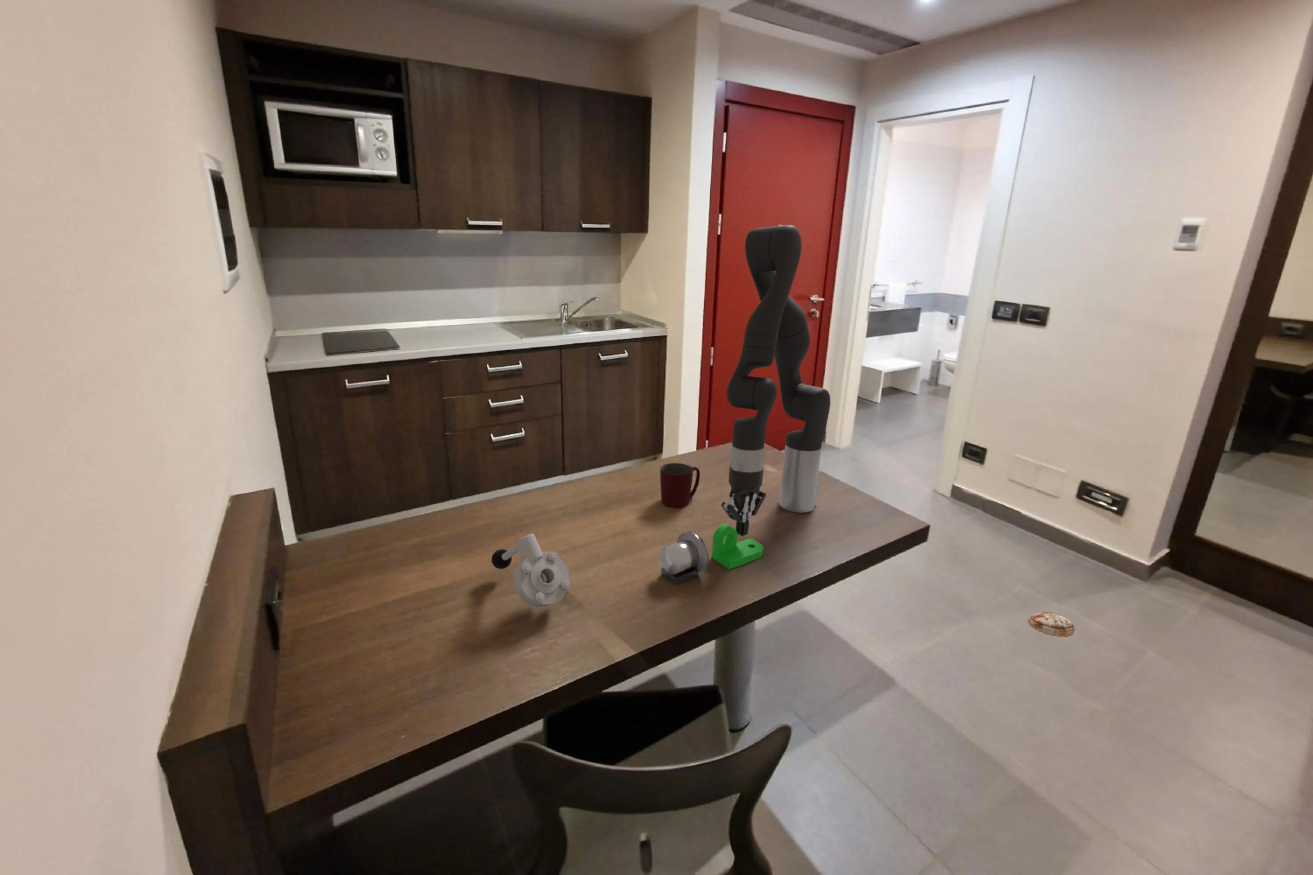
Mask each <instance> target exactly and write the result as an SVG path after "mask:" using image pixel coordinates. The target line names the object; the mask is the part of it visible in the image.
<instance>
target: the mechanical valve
mask: <svg viewBox="0 0 1313 875" xmlns="http://www.w3.org/2000/svg"><path fill="white" fill-rule="evenodd" d="M516 554H518V555H519V558H520V559H521V561H520V562H519V563H518V565H517V566H516V568H515V570H514V572H513V585H514V590H515V592H516V594H517V596H519V599H521V601H523V602H524V603H526V604H527V606H528V607H535V608H544V607H547V606H550V605H553V604H554V603H557V602H558V601H560V600H561V599H562V598H563V597H564V596H565V595H566V593H567V591H568V589H569V587H570V586H571V583H570V572H569V568H568V566H567V565H566V563H565V561H564V560H563V559H562V558H561V557H560V556H559V555H558V554H557V553H556V552H555V551H548V550H542V548H541V547H540V544H539V542H538V539H537V538H536V536H535V533H529V534H527V535H525V536H523V537H520V538H518V539H517V540H515V541H514V545H513V547H511V548H510V549H508V550H507V549H503V548H500V549H498V550H496V551H494V552H493V554H492V555H491V563H492V566H494V568H496V569H498V570H503V569H507V568H508V567H509V566H510V565H511V563H512V559H513V558H512V557H513V556H514V555H516Z"/></svg>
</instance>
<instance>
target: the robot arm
mask: <svg viewBox="0 0 1313 875" xmlns="http://www.w3.org/2000/svg"><path fill="white" fill-rule="evenodd" d="M802 243H803V242H802V237H801V234H800V231H799V229H798V228H797V227H796V226H794V225H792V224H785V225H775V226H766V227H765V226H764V227H757V228H754V229H752V230H750V231H749V232H748V233H747V235H746V238H745V242H744V252H745V258H746V263H747V267H748V269H749V272H750V275H751V278H752V280H753V283H754V286H755V289H756V291H757V295H758V297H759V301H760V302H759V304H758V305H757V307H756V308H755V309H754V311H753V312H752V314H751V315H750V316H749V319H748V321H747V323H746V327H745V329H744V331H745V332H744V335H743V336H744V337H743V342H742V348H741V353H740V356H739V360H738V363H737V364H736V367H735V370H734V372H733V374H732V375H731V378H730V379H729V381H728V384H727V387H726V392H725V393H726V401H727V402H728V404H729V405H730V406H732V407H734V408H739V409H746V410H752V411H756V414H755V416H749V417H748V416H746V417H739V418H738V419H735V421H734V423H733V425H732V441H731V448H730V450H731V451H730V455H729V468H728V471H729V472H728V483H729V486H730V492H729V493H728V495H729V498H728V500H726V502H725V501H723V502H722V503H721V508H722V509H723V510H724V512H725V513H726V515H727V516H728V517H729V518H730V519H732V520H733V521H736V522H735V523H736V524H735V529H736V531H737V535H738V536H741V537H744V536H746V535H748V533H749V528H750V520H751V519H752V517H755V516H756V515H757V513H758V511H759V510H760V507H761V506H762V504H763V502H764V500H765V498H766V496H767V493H766V492H763V491H761V487H762V485H763V479H764V465H765V441H766V440H765V439H766V431H767V430H766V428H767V424H768V420H769V418H770V415H771V412H772V409H773V407H774V405H775V402H776V399H777V396H778V387H777V385H776V383H775V381H774V380H773V379H771V378H768V377H761V376H760V377H759V376H751V375H750V374H751V373H752V372H753V371H754V370H756V369H760V368H767V367H771V366H772V364H773V363H774V360H775V365H776V366H775V367H776V370H777V374H778V381H779V389H780V397H781V403H782V404H781V405H782V409H783V410H784V412H785V415H786V416H788V417H789V418H792V419H795V420H799V421H803V422H805V423H804V427H803V429H799V430H793V431H790V432H788V433H787V434H786V437H785V443H784V444H785V447H784V454H783V455H784V456H783V465H782V475H781V483H780V494H779V502H778V503H779V506H780V507H781V508H782V509H784V510H786V511H789V512H794V513H809V512H812V511H813V510H814V509H815V506H817V499H818V491H819V483H820V476H821V473H820V472H819V471H820V464H821V463H820V462H821V461H820V460H821V453H822V447H823V442H824V439H825V435H826V431H827V424H828V419H829V414H830V408H831V394H830V392H829V391H828V389H826V388H823V387H819V386H814V385H810V384H809V385H808V384H805V383H804V382H803V380H802V378H801V377H802V376H801V371H800V370H801V365H802V363H803V360H804V359H805V357H806V356H807V353H808V350H809V348H810V346H811V334H810V328H809V325H808V320H807V317H806V313H805V312H804V310H803V309H802V308H801V306H800V305H799V304H798V303H797V302H796V301H795V300H794V299H793V298H792V297H791V296H790V292H791V290H792V286H793V283H794V280H795V276H796V272H797V270H798V266H799V263H800V260H801V254H802V246H803V245H802Z"/></svg>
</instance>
